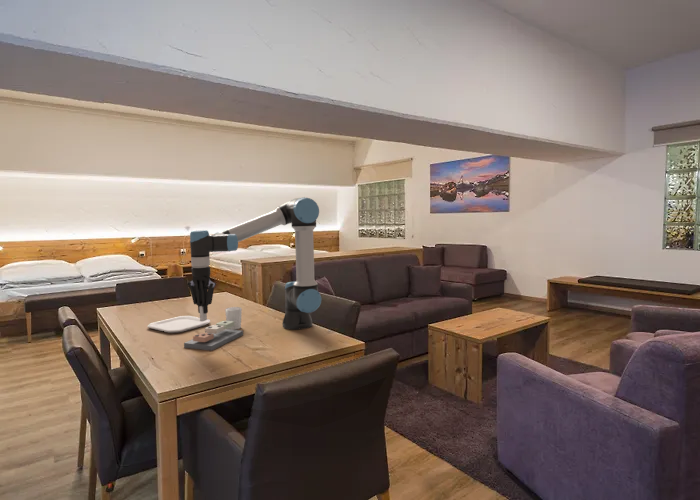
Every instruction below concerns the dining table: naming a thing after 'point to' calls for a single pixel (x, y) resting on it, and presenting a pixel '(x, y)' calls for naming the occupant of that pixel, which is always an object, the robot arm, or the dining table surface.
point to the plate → (178, 324)
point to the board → (215, 340)
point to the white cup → (234, 316)
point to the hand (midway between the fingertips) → (203, 320)
